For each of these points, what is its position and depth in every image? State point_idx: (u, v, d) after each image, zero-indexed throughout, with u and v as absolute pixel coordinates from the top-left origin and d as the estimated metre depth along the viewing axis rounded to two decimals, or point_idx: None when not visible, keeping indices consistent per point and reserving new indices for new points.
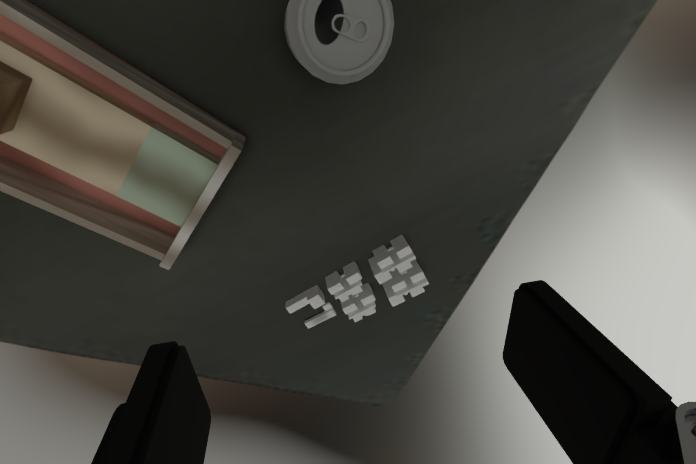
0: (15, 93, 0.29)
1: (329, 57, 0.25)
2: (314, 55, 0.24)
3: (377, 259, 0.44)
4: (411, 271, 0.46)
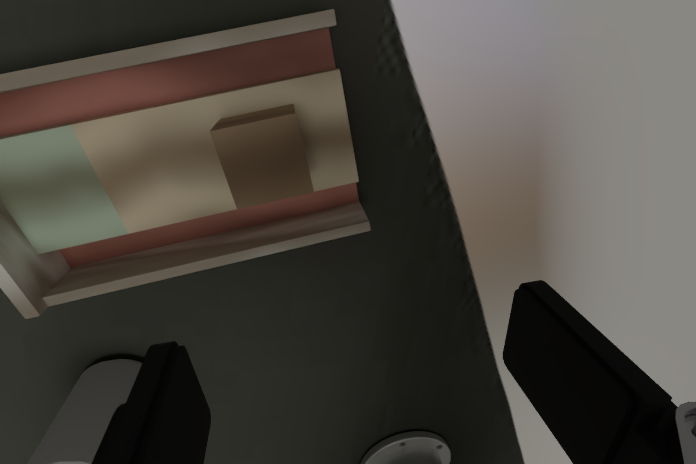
0: None
1: None
2: None
3: None
4: None
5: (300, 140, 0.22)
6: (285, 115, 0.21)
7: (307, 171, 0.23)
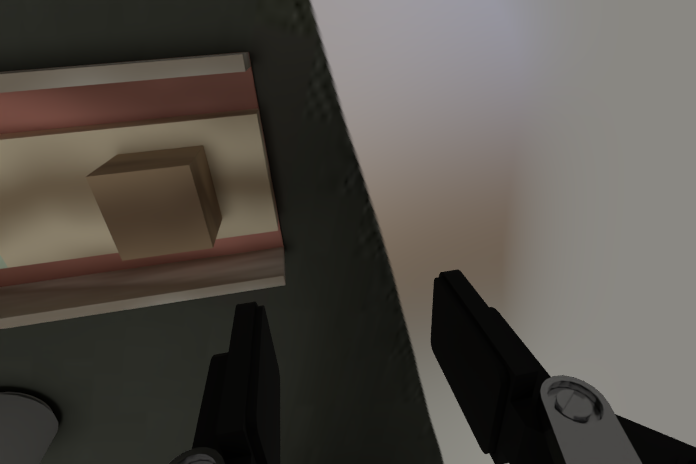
0: None
1: None
2: None
3: None
4: None
5: (195, 193, 0.19)
6: (177, 166, 0.19)
7: (204, 226, 0.20)
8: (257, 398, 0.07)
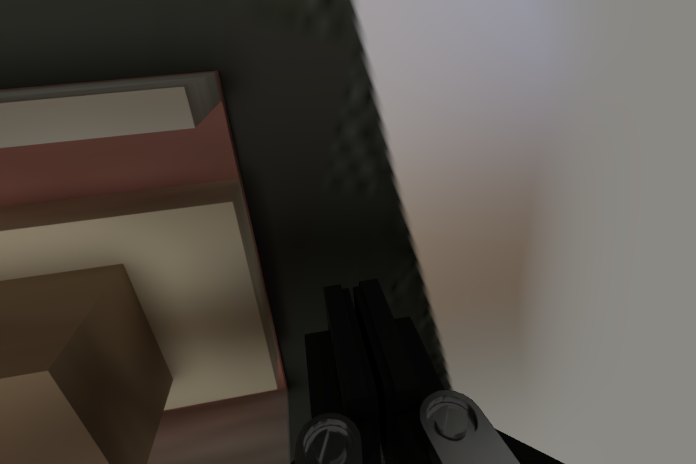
0: None
1: None
2: None
3: None
4: None
5: (77, 421, 0.08)
6: (19, 373, 0.07)
7: None
8: (370, 370, 0.08)
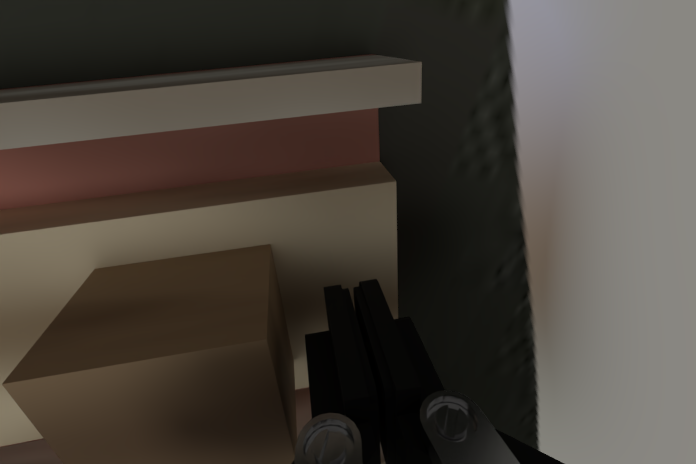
0: None
1: None
2: None
3: None
4: None
5: (275, 391, 0.08)
6: (238, 341, 0.08)
7: (287, 443, 0.09)
8: (371, 370, 0.08)
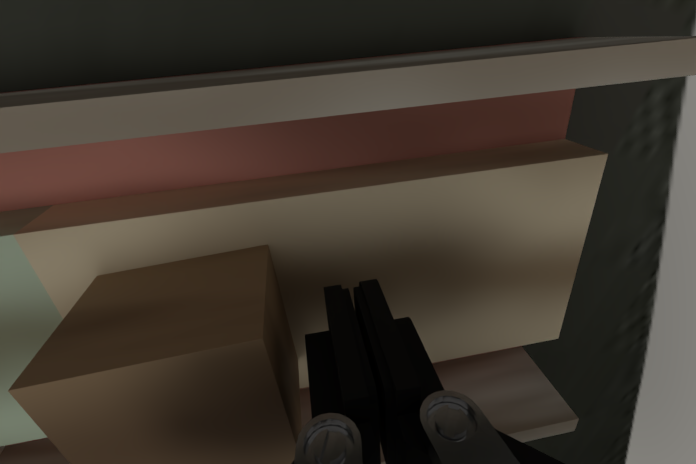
0: None
1: None
2: None
3: None
4: None
5: (275, 389, 0.08)
6: (235, 341, 0.08)
7: (290, 440, 0.09)
8: (371, 370, 0.08)
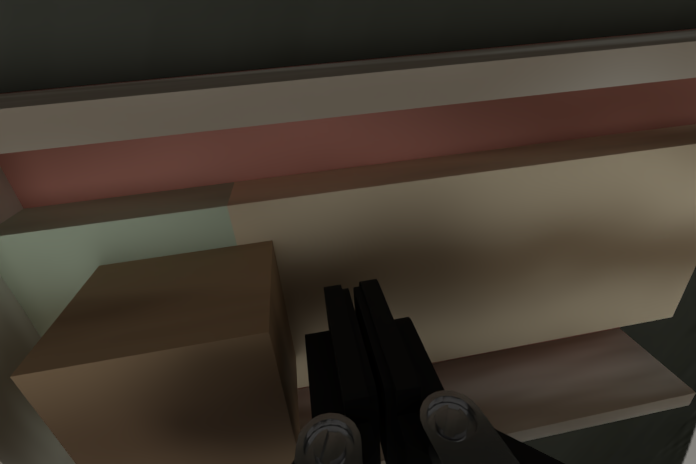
0: None
1: None
2: None
3: None
4: None
5: (277, 384, 0.08)
6: (241, 334, 0.08)
7: (289, 436, 0.09)
8: (371, 370, 0.08)
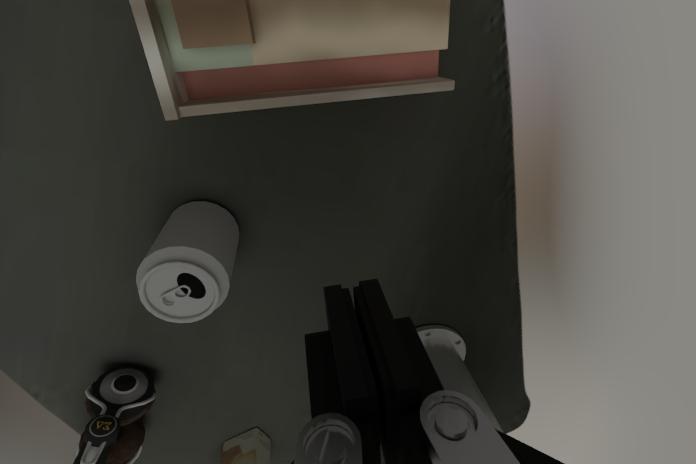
0: None
1: (169, 270, 0.29)
2: (178, 265, 0.29)
3: None
4: None
5: None
6: None
7: (247, 21, 0.26)
8: (371, 370, 0.08)
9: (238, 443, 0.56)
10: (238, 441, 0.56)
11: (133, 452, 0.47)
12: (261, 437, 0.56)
